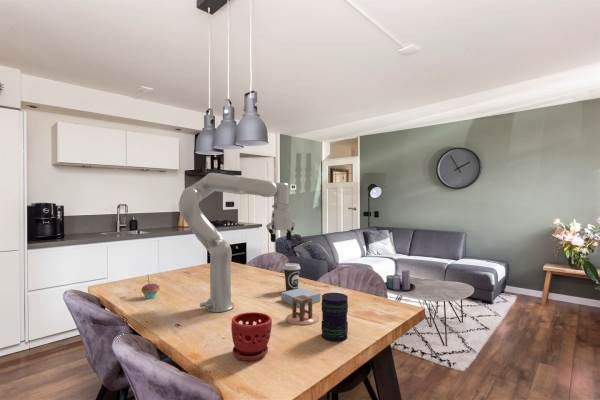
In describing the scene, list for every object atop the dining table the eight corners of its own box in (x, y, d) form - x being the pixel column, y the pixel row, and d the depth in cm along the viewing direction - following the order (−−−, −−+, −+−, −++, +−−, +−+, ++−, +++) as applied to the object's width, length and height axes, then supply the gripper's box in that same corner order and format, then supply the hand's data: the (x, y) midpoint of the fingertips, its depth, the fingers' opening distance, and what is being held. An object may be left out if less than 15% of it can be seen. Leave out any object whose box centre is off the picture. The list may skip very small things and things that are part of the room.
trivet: (300, 328, 126) (300, 327, 126) (279, 317, 136) (279, 317, 136) (325, 319, 135) (325, 318, 135) (304, 310, 145) (304, 309, 145)
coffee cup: (301, 289, 181) (301, 263, 181) (299, 294, 171) (299, 266, 171) (284, 288, 182) (284, 262, 182) (282, 293, 172) (282, 266, 172)
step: (298, 307, 150) (298, 299, 150) (281, 300, 161) (281, 292, 161) (320, 301, 159) (320, 293, 159) (302, 295, 170) (302, 287, 170)
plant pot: (259, 367, 96) (259, 328, 96) (223, 359, 101) (223, 321, 101) (278, 348, 108) (278, 313, 108) (244, 342, 113) (245, 308, 113)
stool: (301, 321, 131) (301, 300, 131) (292, 317, 136) (292, 297, 136) (312, 318, 135) (312, 298, 135) (303, 314, 140) (303, 294, 140)
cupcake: (137, 298, 163) (137, 275, 163) (152, 294, 170) (152, 272, 170) (148, 301, 159) (148, 277, 159) (163, 296, 166) (163, 273, 166)
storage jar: (353, 336, 118) (353, 296, 118) (337, 344, 111) (338, 302, 111) (331, 328, 125) (331, 291, 125) (315, 336, 118) (316, 296, 118)
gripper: (271, 207, 151) (271, 243, 151) (299, 207, 162) (299, 240, 162) (262, 207, 157) (262, 241, 157) (290, 206, 168) (290, 239, 168)
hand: (281, 241), depth 159 cm, fingers open, 9 cm apart
